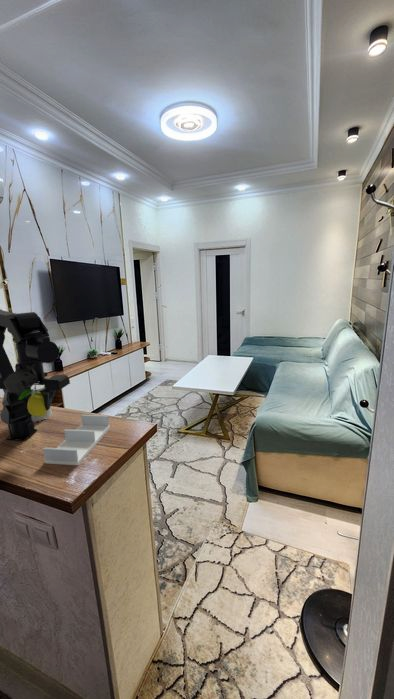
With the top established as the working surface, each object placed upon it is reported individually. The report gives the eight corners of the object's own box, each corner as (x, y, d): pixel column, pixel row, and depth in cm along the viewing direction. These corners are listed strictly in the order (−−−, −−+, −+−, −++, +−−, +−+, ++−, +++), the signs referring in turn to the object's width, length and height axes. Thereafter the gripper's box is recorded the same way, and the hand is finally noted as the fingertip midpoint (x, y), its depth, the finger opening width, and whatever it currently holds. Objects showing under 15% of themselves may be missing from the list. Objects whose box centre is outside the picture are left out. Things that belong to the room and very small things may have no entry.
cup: (41, 422, 104) (36, 391, 101) (22, 421, 105) (16, 389, 102) (56, 412, 111) (52, 383, 109) (38, 411, 113) (33, 382, 110)
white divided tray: (44, 463, 80) (42, 448, 79) (82, 426, 100) (81, 414, 99) (78, 465, 79) (76, 450, 78) (110, 427, 99) (109, 415, 98)
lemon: (22, 422, 83) (16, 389, 81) (34, 412, 89) (29, 381, 86) (44, 422, 83) (39, 389, 80) (56, 413, 88) (51, 381, 86)
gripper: (-25, 365, 75) (-13, 421, 79) (42, 366, 72) (51, 424, 76) (8, 354, 86) (17, 404, 89) (67, 355, 83) (74, 406, 87)
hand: (38, 409), depth 85 cm, fingers closed on lemon, 5 cm apart
